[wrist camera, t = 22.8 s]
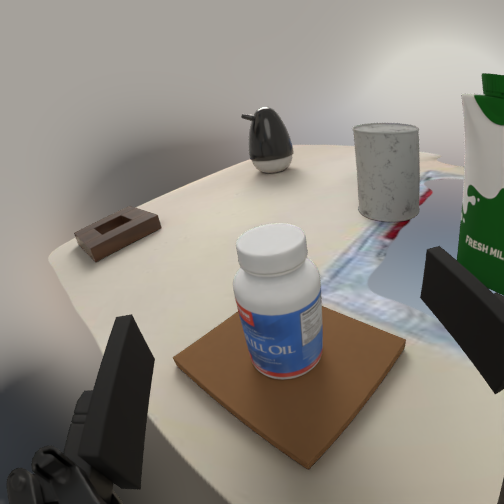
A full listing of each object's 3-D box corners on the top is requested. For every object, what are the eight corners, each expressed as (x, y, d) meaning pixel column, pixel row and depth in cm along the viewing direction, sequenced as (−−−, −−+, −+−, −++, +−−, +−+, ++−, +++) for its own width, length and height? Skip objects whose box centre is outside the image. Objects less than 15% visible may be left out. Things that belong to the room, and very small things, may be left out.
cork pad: (176, 365, 25) (172, 357, 24) (274, 293, 31) (273, 285, 31) (308, 470, 15) (307, 464, 14) (404, 348, 22) (406, 339, 21)
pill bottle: (236, 366, 22) (202, 252, 18) (275, 322, 26) (256, 213, 21) (301, 392, 19) (286, 270, 15) (335, 340, 23) (331, 222, 18)
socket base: (78, 244, 54) (73, 233, 53) (133, 216, 62) (129, 205, 60) (95, 262, 45) (89, 248, 44) (161, 227, 53) (157, 214, 51)
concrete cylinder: (361, 223, 41) (355, 133, 35) (355, 198, 49) (349, 124, 43) (426, 220, 38) (427, 132, 33) (411, 196, 46) (409, 122, 41)
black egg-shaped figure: (254, 167, 78) (243, 109, 71) (295, 162, 76) (286, 103, 69) (249, 178, 69) (237, 112, 62) (296, 173, 67) (286, 105, 60)
